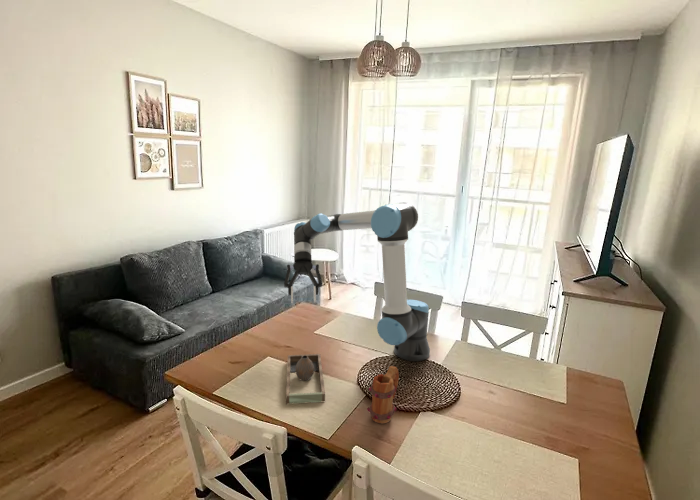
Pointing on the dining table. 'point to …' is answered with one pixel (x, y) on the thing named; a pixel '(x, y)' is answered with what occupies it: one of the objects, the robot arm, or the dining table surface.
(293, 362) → the box
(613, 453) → the dining table surface
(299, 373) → the vase
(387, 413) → the mug
